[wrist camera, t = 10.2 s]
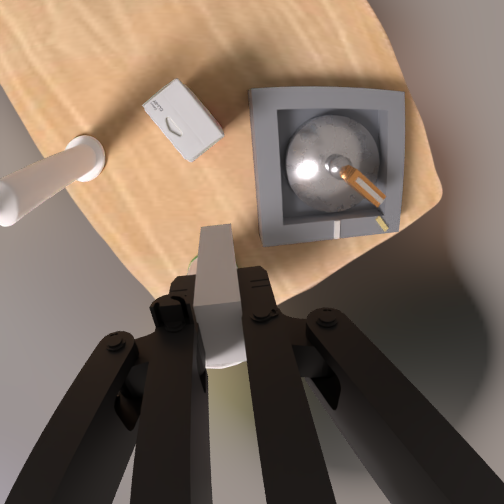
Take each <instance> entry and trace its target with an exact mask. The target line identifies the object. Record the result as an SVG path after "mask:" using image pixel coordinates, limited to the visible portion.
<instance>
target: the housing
mask: <svg viewBox="0 0 504 504" xmlns="http://www.w3.org/2000/svg"><path fill="white" fill-rule="evenodd" d="M248 99H249V111H250V123H251V135H252V147H253V160H254V172H255V185H256V198H257V211H258V224H259V235H260V238H261V242H262V245H263V247H269V246H278V245H287V244H295V243H304V242H312V241H321V240H330V239H339V238H347V237H356V236H365V235H373V234H382V233H391V232H399V224H400V214H401V203H402V191H403V176H404V155H405V92H401V91H391V90H381V89H368V88H351V87H317V86H303V87H268V88H251V89H249V90H248ZM322 115H338V116H344V117H348V118H350V119H353V120H355V121H357V122H358V123H360V124H361V125H362V126H364V127H365V128H366V129H367V130H368V131H369V133H370V134H371V136H372V137H373V139H374V141H375V143H376V146H377V148H378V153H379V172H378V176H377V179H376V182H375V184H374V185H375V186H376V187H377V188H378V189H379V190H380V191H381V192H382V193H384V194H385V195H386V198H385V199H384V201H383V202H382V204H380V205H379V207H378V208H377V207H376V206H375V205H373V204H372V203H371V202H369V201H368V200H366V199H365V198H364V199H363V200H362V201H361V202H359V203H358V204H357V205H355V206H353V207H351V208H349V209H346V210H343V211H338V212H325V211H320V210H317V209H314V208H312V207H310V206H308V205H307V204H305V203H304V202H303V201H302V200H301V199H300V198H299V197H298V196H297V195H296V194H295V192H294V191H293V190H292V188H291V187H290V185H289V183H288V181H287V178H286V175H285V171H284V154H285V150H286V147H287V144H288V142H289V140H290V138H291V136H292V135H293V133H294V132H295V131H296V130H297V129H298V128H299V127H300V126H301V125H302V124H303V123H305V122H306V121H308V120H310V119H312V118H315V117H318V116H322Z"/></svg>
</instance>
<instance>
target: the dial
mask: <svg viewBox="0 0 504 504" xmlns="http://www.w3.org/2000/svg"><path fill="white" fill-rule="evenodd" d="M284 171H285V175H286V178H287V181H288V183H289V185H290V187H291V188H292V190H293V191H294V192H295V194H296V195H297V196H298V197H299V198H300V199H301V200H302V201H303V202H304V203H305V204H307V205H308V206H310V207H312V208H314V209H317V210H320V211H325V212H338V211H343V210H346V209H349V208H351V207H353V206H355V205H357V204H358V203H359V202H361V201H362V200H363V199H364V198H365V199H366V200H368V201H369V202H371V203H372V204H373V205H375V206H376V207H377V208H378V207H379V205H380V204H382V202H383V201H384V199H385V198H386V195H385V194H384V193H382V192H381V191H380V190H379V189H378V188H377V187H376V186H375V185H374V184H375V182H376V179H377V176H378V172H379V153H378V148H377V146H376V143H375V141H374V139H373V137H372V136H371V134H370V133H369V131H368V130H367V129H366V128H365V127H364V126H362V125H361V124H360V123H358V122H357V121H355V120H353V119H350V118H348V117H344V116H338V115H322V116H318V117H315V118H312V119H310V120H308V121H306V122H305V123H303V124H302V125H301V126H300V127H299V128H298V129H297V130H296V131H295V132H294V133H293V135H292V136H291V138H290V140H289V142H288V144H287V147H286V150H285V154H284Z"/></svg>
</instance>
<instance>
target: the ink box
mask: <svg viewBox="0 0 504 504" xmlns="http://www.w3.org/2000/svg"><path fill="white" fill-rule="evenodd" d="M142 106H143V107H144V109H145V111H146V113H147V114H148V115H149V116H150V117H151V119H152V120H153V121H154V122H155V124H157V126H158V127H159V128H160V129H161V131H162V132H163V133H164V134H165V136H166V137H167V138H168V139H169V140H170V141H171V143H172V144H173V145H174V147H175V148H176V149H177V150H178V151H179V152H180V154H181V155H182V156H183V158H184V159H186V160H188V161H189V162H193V161H194V160H195V159H197V158H198V157H199V156H200V155H202V154H203V153H204V152H205V151H207V150H208V149H209V148H210V147H212V146H213V145H214V144H215V143H217V142H218V141H219V140H220V139H222V138H223V137H224V132H223V128H222V126H221V125H220V124H219V123H218V121H217V120H216V119H215V118H214V117H213V115H212V114H211V113H210V112H209V111H208V109H207V108H206V107H205V106H204V105H203V104H202V102H201V101H200V100H199V99H198V98H197V96H196V95H195V94H194V93H193V92H192V91H191V90H190V89H189V88H188V86H186V85H185V84H183V83H182V82H181V81H180V80H179V79H177V78H176V79H174V80H173V81H171V82H170V83H168V84H167V85H166V86H164V87H163V88H162V89H160V90H159V91H158V92H157V93H156V94H154V95H153V96H152V97H151V98H150V99H149V100H147V101H146V102H145V103H144V104H143V105H142Z"/></svg>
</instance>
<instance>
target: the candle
mask: <svg viewBox="0 0 504 504" xmlns="http://www.w3.org/2000/svg"><path fill="white" fill-rule="evenodd" d="M104 164H105V152H104V149H103V146H102V145H101V143H100V142H99V141H98V140H97V139H96V138H94V137H92V136H88V135H82V136H78V137H76V138H74V139H73V140H71V141H70V142H69V144H68V145H67V147H66V149H65V150H64V151H62V152H59V153H57V154H54V155H52V156H49V157H47V158H45V159H42V160H40V161H38V162H35V163H33V164H31V165H28V166H26V167H24V168H22V169H20V170H17V171H15V172H13V173H11V174H9V175H7V176H5V177H3V178H1V179H0V225H1V226H4V227H7V226H11V225H13V224H14V223H15V222H17V221H18V220H19V219H21V218H22V217H23V216H25V215H26V214H27V213H29V212H30V211H31V210H33V209H34V208H35V207H37V206H38V205H40V204H41V203H43V202H44V201H45V200H47V199H48V198H50V197H51V196H53V195H54V194H56V193H57V192H59V191H60V190H62V189H63V188H65V187H66V186H68V185H69V184H71V183H72V182H74V181H75V180H77V181H81V182H86V181H90V180H92V179H94V178H96V177H97V176H98V175H99V174H100V173H101V171H102V169H103V167H104Z"/></svg>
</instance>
